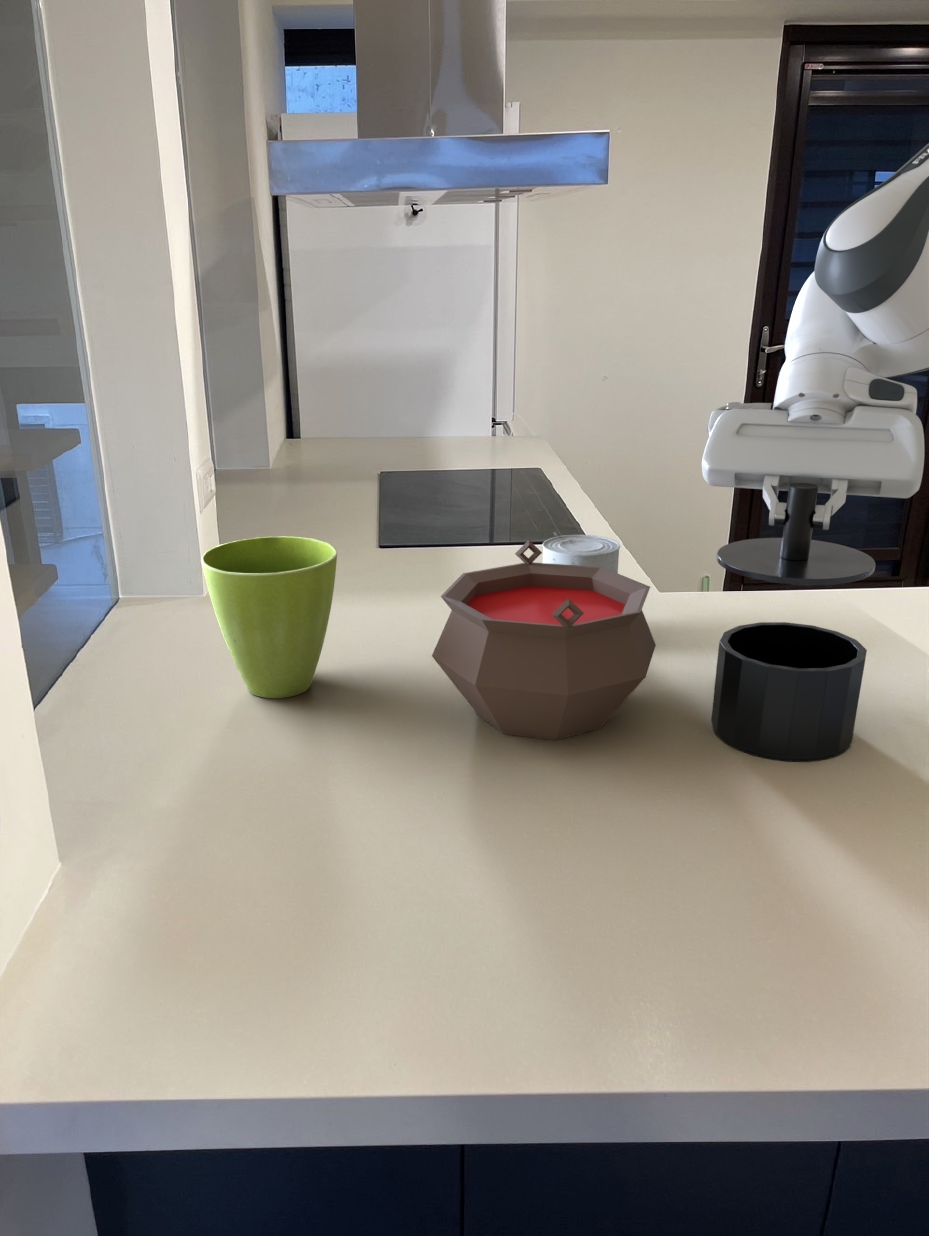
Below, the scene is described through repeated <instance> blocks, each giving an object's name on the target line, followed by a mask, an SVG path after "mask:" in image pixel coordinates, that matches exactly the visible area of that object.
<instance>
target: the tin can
mask: <svg viewBox="0 0 929 1236" xmlns="http://www.w3.org/2000/svg"><path fill="white" fill-rule="evenodd" d="M541 545H542V563H549V564H563V565H578V566H593V567H603V568H606V569H608V570H610V571H613V572H615V573H618V574H619V557H620V548H621V544H620V543H619V541H616V540H615V539H612V538H609V537H605V536H601V535H594V534H593V535H592V534H564V535H557V536H553V537H550V538H547V539H546V540H543V542H542V544H541Z"/></svg>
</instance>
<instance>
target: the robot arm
mask: <svg viewBox="0 0 929 1236" xmlns="http://www.w3.org/2000/svg"><path fill="white" fill-rule="evenodd" d="M822 235H823V236H822V238H821V240H820V242H819V245H818V249H817V253H816V256H815V263H814V271H813V272H812V273H811V274H810V275H809V276H808V278H807V279H806V280H805V282H804V283H803V285H802V287H801V289H800V291H799V293H798V295H797V297H796V300H795V303H794V305H793V308H792V312H791V315H790V317H789V322H788V326H787V332H786V337H785V341H784V354H785V361H784V363H783V364H782V366H781V369H780V371H779V373H778V378H777V383H776V388H775V393H774V398H773V402H752V403H751V402H750V403H749V402H748V403H745V402H743V403H742V402H739V401H732V402H728V403H727V404H726V405H723V406H720V407H717V408H716V409H714V410H713V411H712V412H711V414H710V416H709V419H708V425H707V429H706V430H707V434H708V439H707V441H706V444H705V447H704V451H703V453H702V458H701V474H702V479H704V481H705V482H706V484H707V485H708V486H711V487H719V488H720V487H721V488H735V489H749V490H750V489H753V490H762V499H763V500H764V502H765V504H766V506H767V508H768V510H769V514H768V515H769V516H768V526H771V527H773V526H775V527H784V525H785V517H786V509H787V502H783V501H781V502H779V499H778V496H779V492H780V491H783V492H784V491H785V492H788V491H789V485H790V484H793V483H809V484H815V485H817V486H818V492H817V494H829V495H830V497H829V499H828V501H826V503H825V504H816V506H815V511H814V517H813V526H812V530H822V531H823V530H824V531H829V529H830V523H831V517H832V516H833V515H835V513H836V512H838V510H839V509H840V508H841V507H842V506H843V505H845V503H846V500H847V499H846V498H847V496H865V497H881V498H893V499H894V498H895V499H909V498H911V497H912V496H914V495H915V494H916V493H917V492H918V491H920V487H921V485H922V481H923V480H922V479H923V474H924V465H925V433H924V427H923V424H922V420H921V419H920V417H919V416H918V415H917V409H918V391H917V388H916V387H915V386H913V385H910V384H907V383H904V382H901V381H900V382H899V381H896V380H893V379H892V378H897V377H902V376H909V375H913V374H917V373H921V372H927V371H929V142H928V143H927V144H926V145H925V146H924V147H922V149H920V150H919V151H918V152H917V153H915V154H914V156H912V157H911V158H910V159H909V160H908V161H907V162H906V163H904V164H903V165H902V166H901V167H900V168H899V169H898V170H897V171H895V172H894V173H893V174H892V175H890V176H889V177H888V178H887V179H885V180H883V182H882V183H880V184H879V185H877V186H876V187H874V188H873V189H871V190H870V191H868V192H867V193H865V194H864V195H862V196H861V197H859V198H858V199H856V200H855V201H853V202H851V203H850V204H849V205H847V206H846V207H845V208H844V209H843V210H842V211H841V212H839V213H838V215H836V216H835V217H834V218H833V220H832V221H831V222H830V223H829V225H828V226H827V228H826V230H825V231H824V233H823V234H822ZM890 378H891V379H890Z"/></svg>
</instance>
